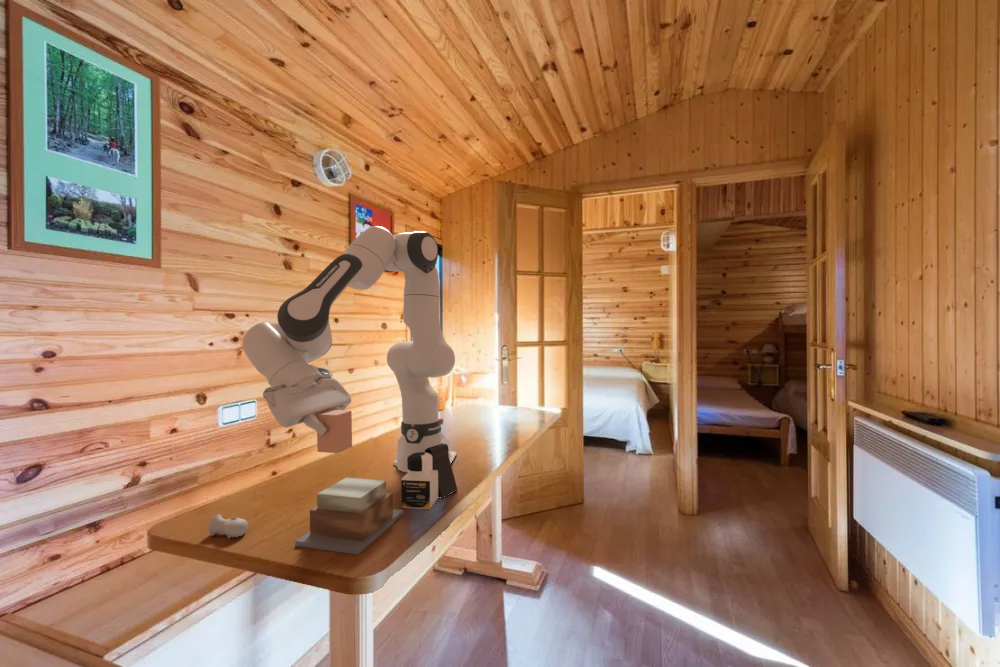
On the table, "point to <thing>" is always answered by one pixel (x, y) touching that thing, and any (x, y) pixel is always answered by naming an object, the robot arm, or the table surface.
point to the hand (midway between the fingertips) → (335, 429)
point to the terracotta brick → (335, 431)
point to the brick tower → (351, 509)
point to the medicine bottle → (419, 482)
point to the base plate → (345, 544)
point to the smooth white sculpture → (227, 526)
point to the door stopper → (442, 469)
